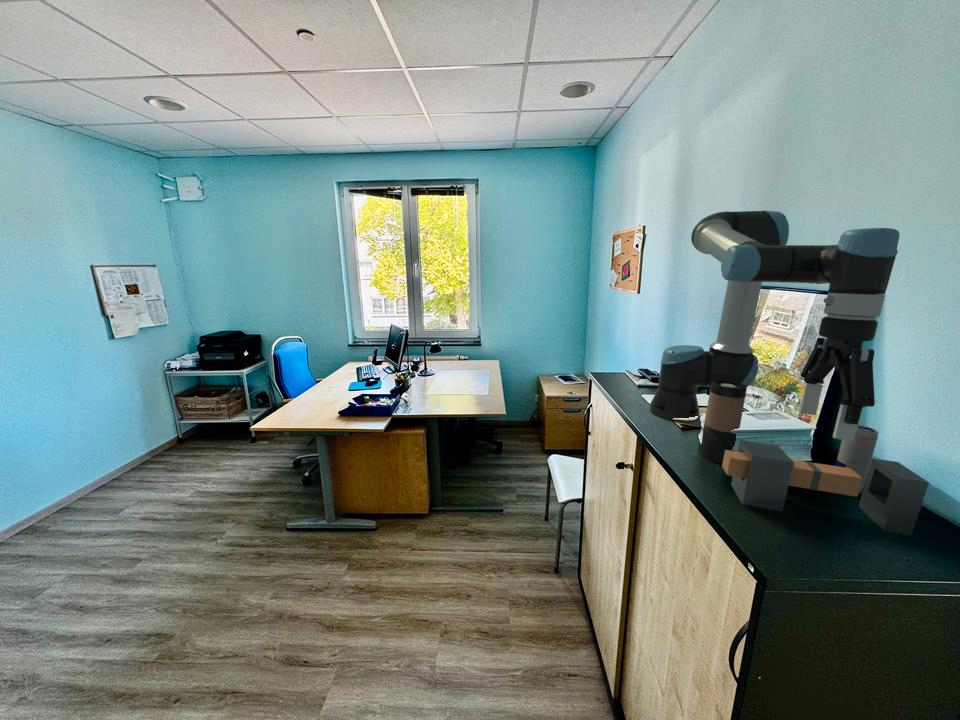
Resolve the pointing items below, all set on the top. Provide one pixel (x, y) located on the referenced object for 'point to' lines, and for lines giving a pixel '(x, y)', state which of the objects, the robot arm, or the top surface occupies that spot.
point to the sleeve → (763, 476)
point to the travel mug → (722, 418)
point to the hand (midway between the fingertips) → (823, 425)
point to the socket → (893, 496)
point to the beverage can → (858, 452)
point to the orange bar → (804, 474)
